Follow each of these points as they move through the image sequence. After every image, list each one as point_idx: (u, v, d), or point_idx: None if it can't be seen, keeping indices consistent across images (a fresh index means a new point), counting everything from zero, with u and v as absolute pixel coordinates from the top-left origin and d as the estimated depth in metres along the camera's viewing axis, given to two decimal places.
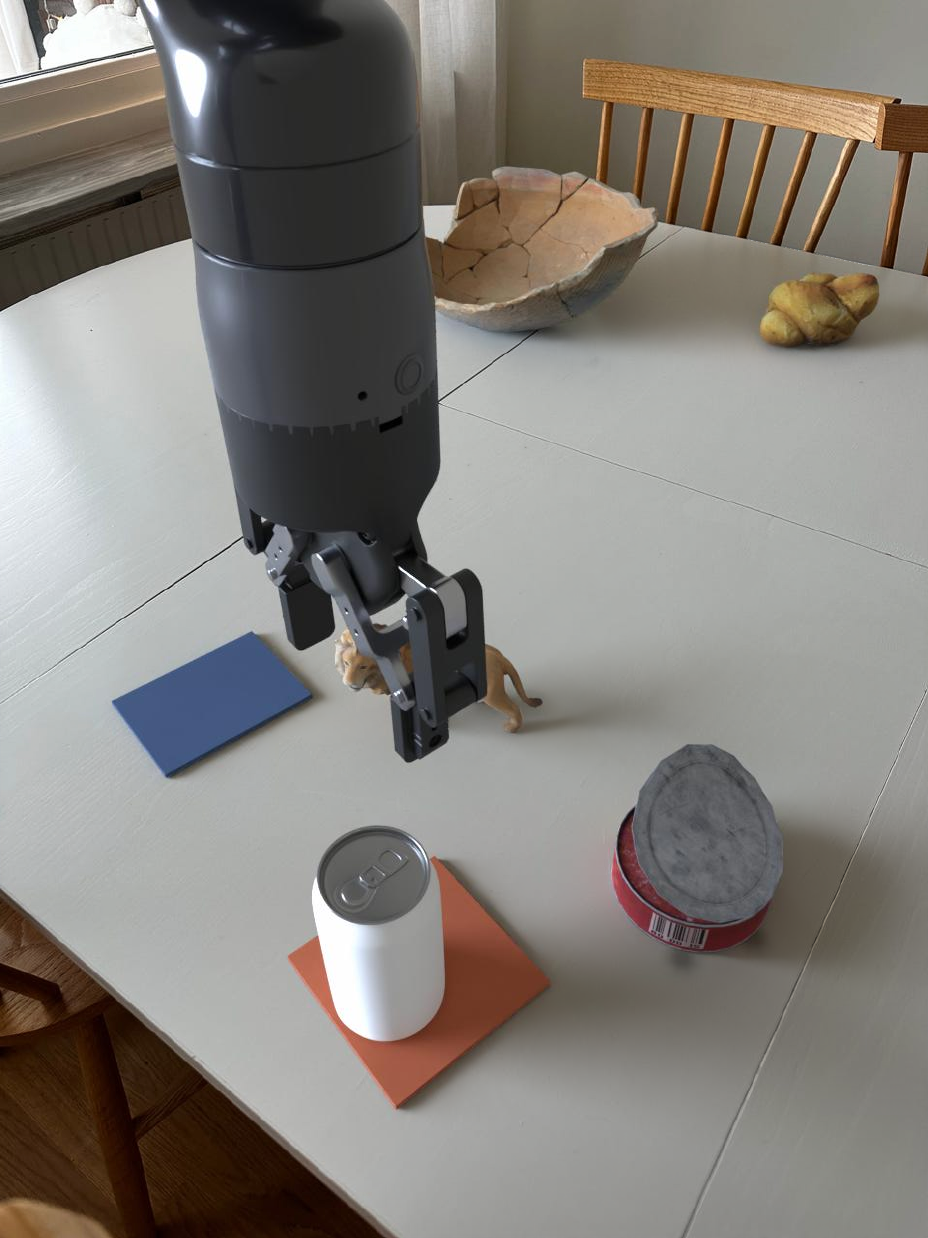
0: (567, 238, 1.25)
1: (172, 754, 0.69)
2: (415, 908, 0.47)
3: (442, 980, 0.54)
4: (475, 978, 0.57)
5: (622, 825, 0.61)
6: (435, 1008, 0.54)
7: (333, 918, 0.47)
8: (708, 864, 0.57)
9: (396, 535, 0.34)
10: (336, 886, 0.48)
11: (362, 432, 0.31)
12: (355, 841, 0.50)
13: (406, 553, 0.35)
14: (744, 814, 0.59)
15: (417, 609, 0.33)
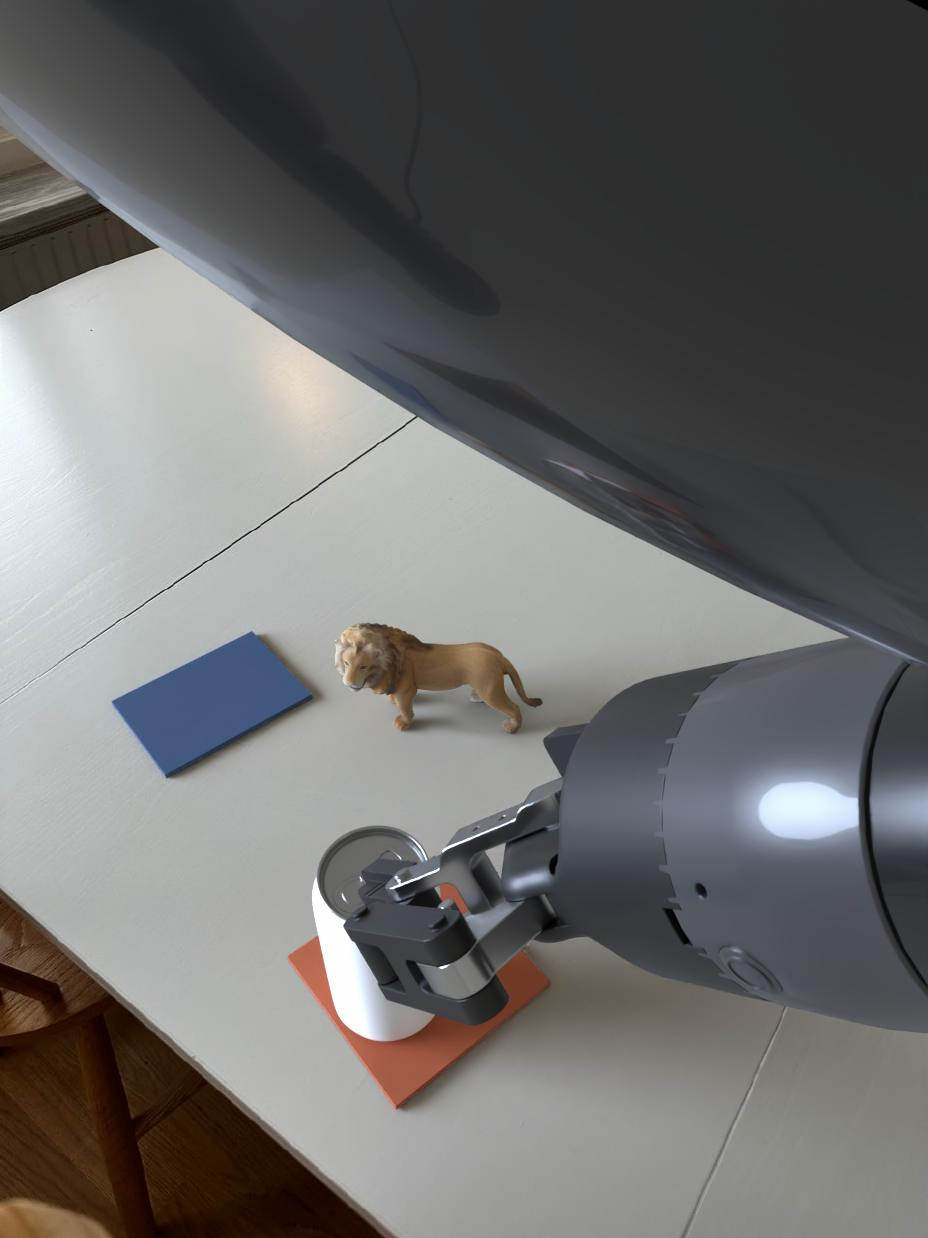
0: None
1: (172, 754, 0.69)
2: None
3: None
4: None
5: None
6: None
7: (333, 918, 0.47)
8: None
9: (561, 905, 0.24)
10: (336, 886, 0.48)
11: (659, 881, 0.20)
12: (355, 841, 0.50)
13: (547, 914, 0.25)
14: None
15: (439, 928, 0.23)
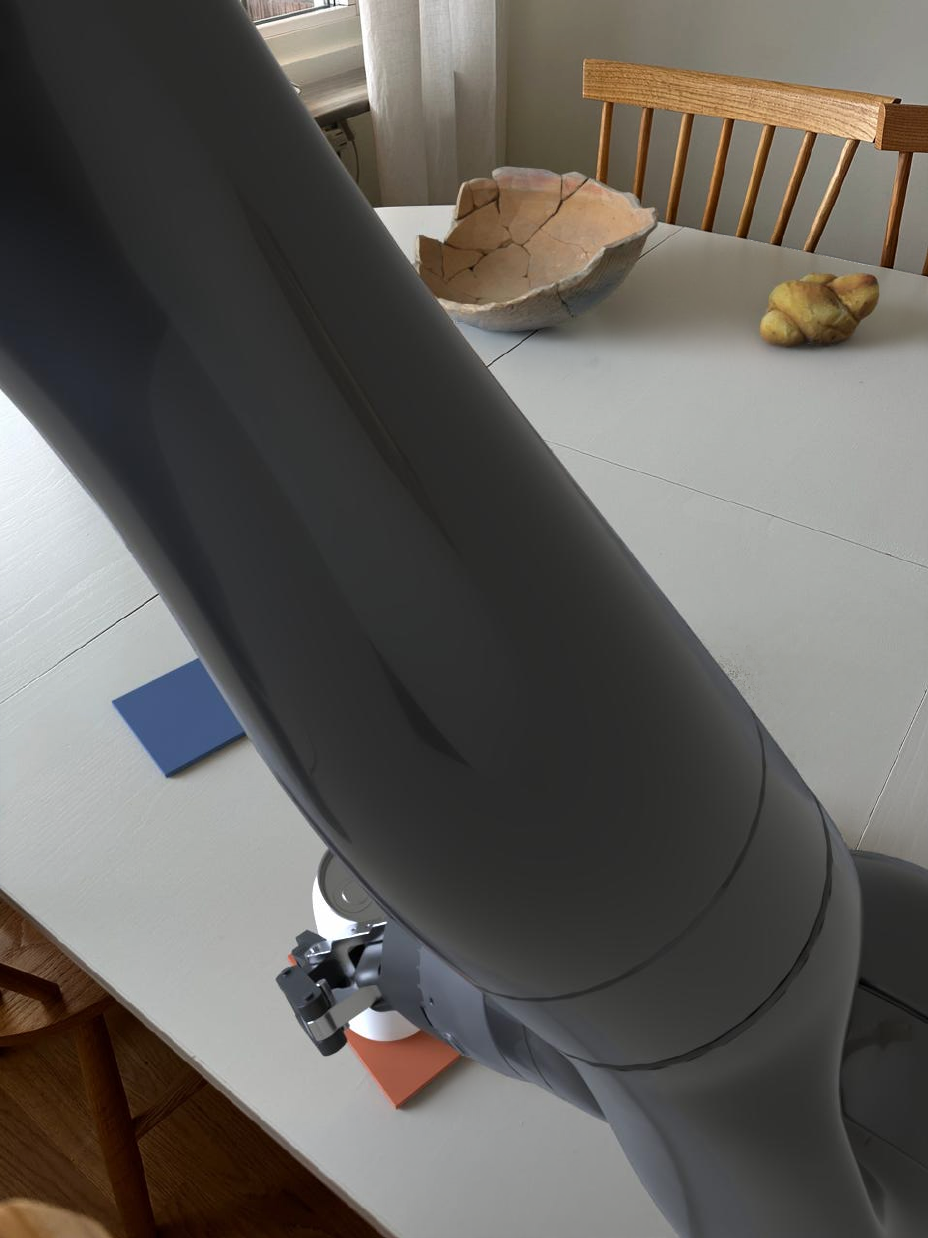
0: (567, 238, 1.25)
1: (172, 754, 0.69)
2: None
3: None
4: None
5: None
6: None
7: (333, 917, 0.47)
8: None
9: (383, 992, 0.41)
10: (337, 885, 0.48)
11: (417, 992, 0.37)
12: None
13: (378, 995, 0.42)
14: None
15: (307, 1001, 0.41)
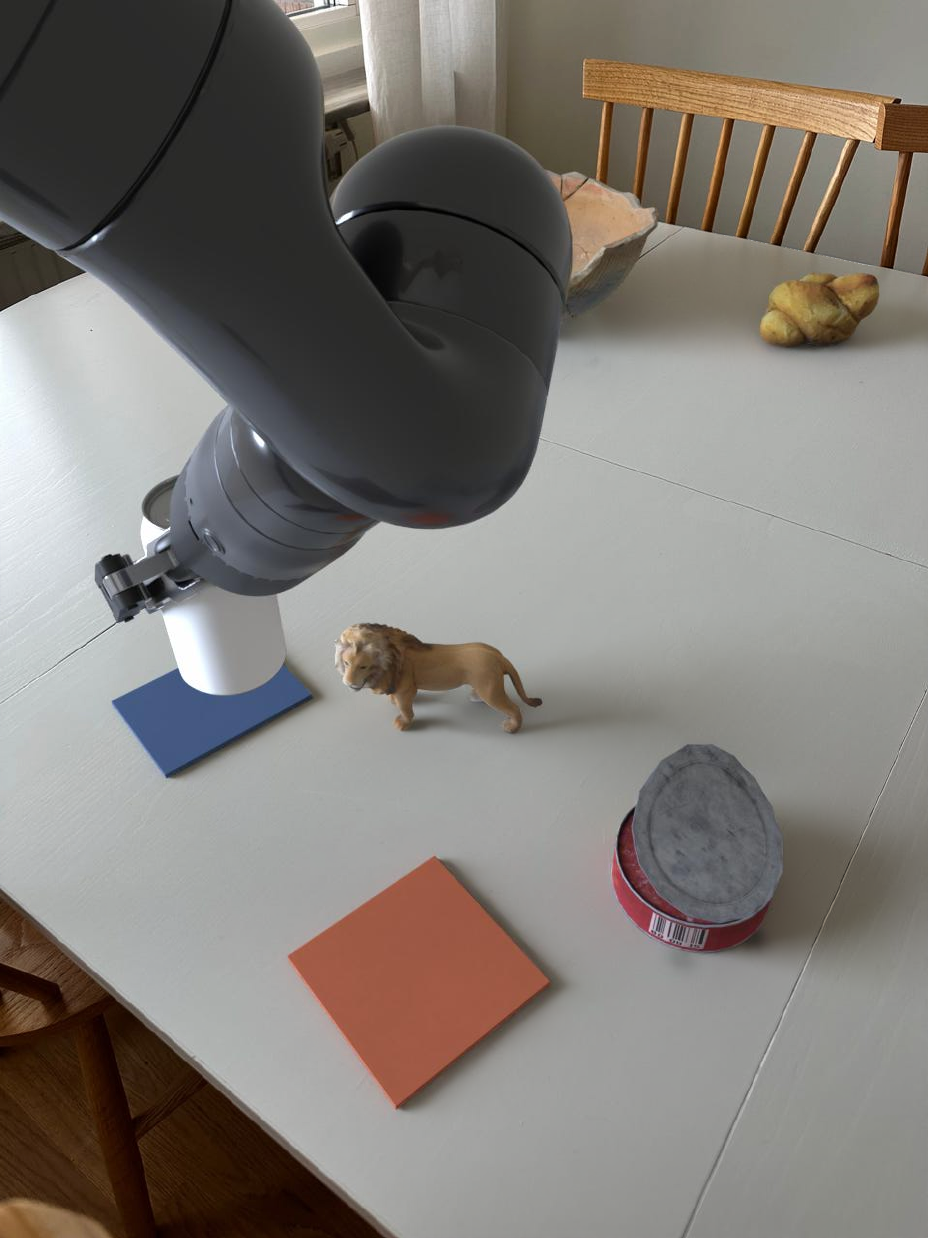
0: None
1: (172, 754, 0.69)
2: None
3: (277, 640, 0.57)
4: (475, 978, 0.57)
5: (622, 825, 0.61)
6: (271, 667, 0.57)
7: (154, 533, 0.50)
8: (708, 864, 0.57)
9: (174, 550, 0.44)
10: (160, 510, 0.51)
11: (185, 507, 0.41)
12: None
13: (174, 562, 0.45)
14: (744, 814, 0.59)
15: (105, 559, 0.45)
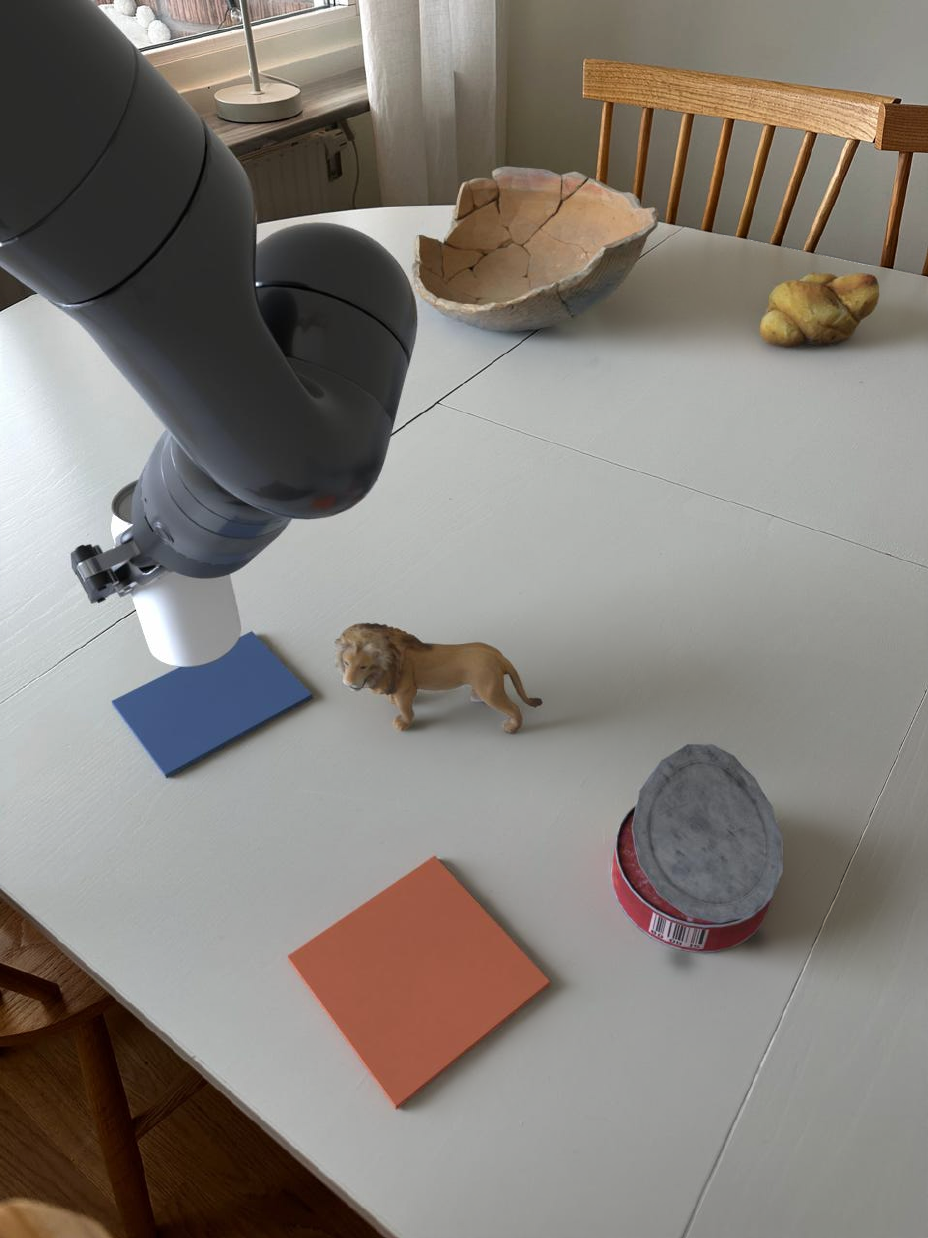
0: (567, 238, 1.25)
1: (172, 754, 0.69)
2: None
3: (232, 618, 0.67)
4: (475, 978, 0.57)
5: (622, 825, 0.61)
6: (227, 642, 0.67)
7: (122, 527, 0.60)
8: (708, 864, 0.57)
9: (136, 541, 0.54)
10: (127, 508, 0.61)
11: (141, 504, 0.50)
12: None
13: (136, 550, 0.55)
14: (744, 814, 0.59)
15: None
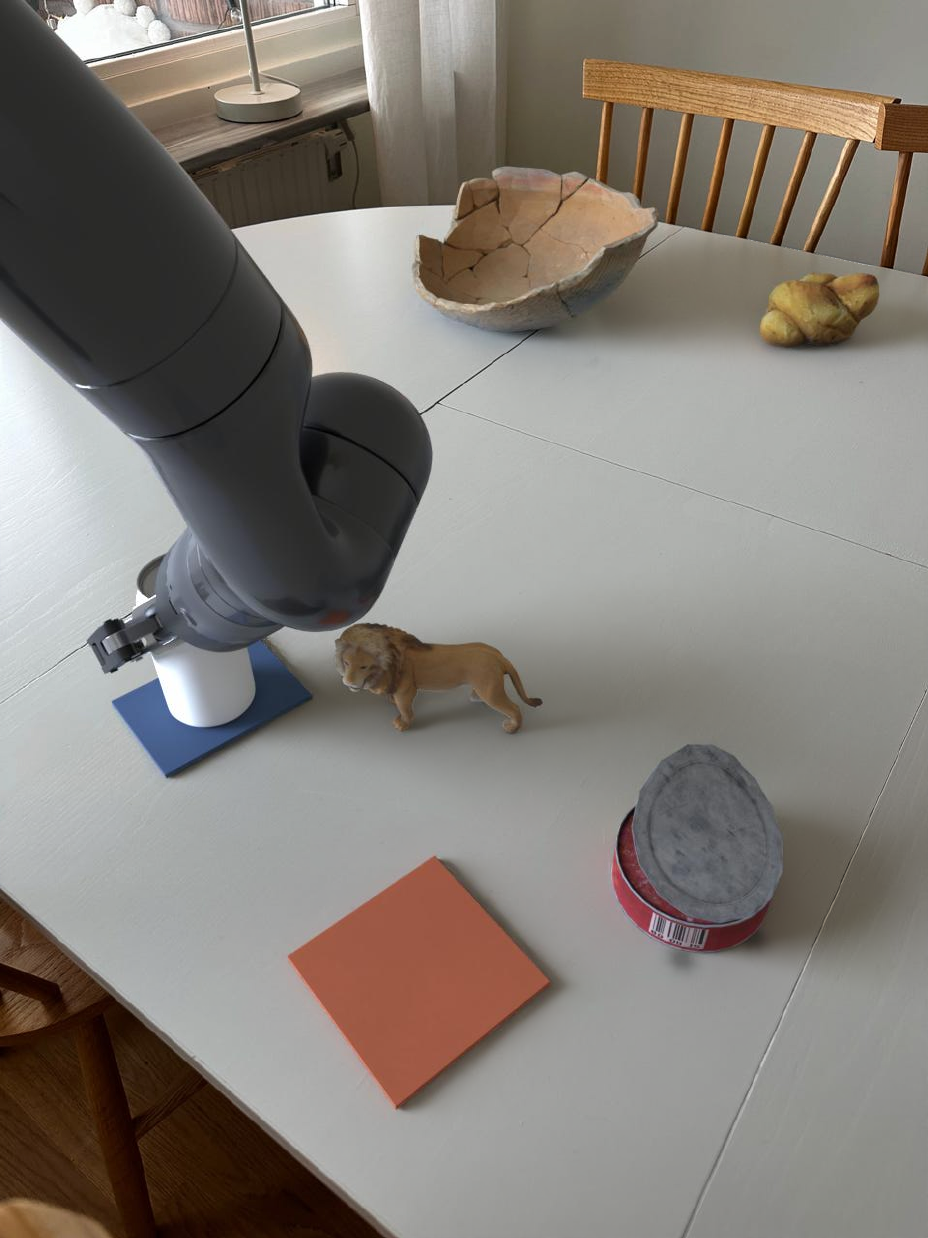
0: (567, 238, 1.25)
1: (172, 754, 0.69)
2: None
3: (247, 682, 0.71)
4: (475, 978, 0.57)
5: (622, 825, 0.61)
6: (243, 704, 0.71)
7: None
8: (708, 864, 0.57)
9: (159, 617, 0.58)
10: (151, 584, 0.65)
11: (166, 589, 0.54)
12: None
13: (159, 625, 0.58)
14: (744, 814, 0.59)
15: (107, 622, 0.57)
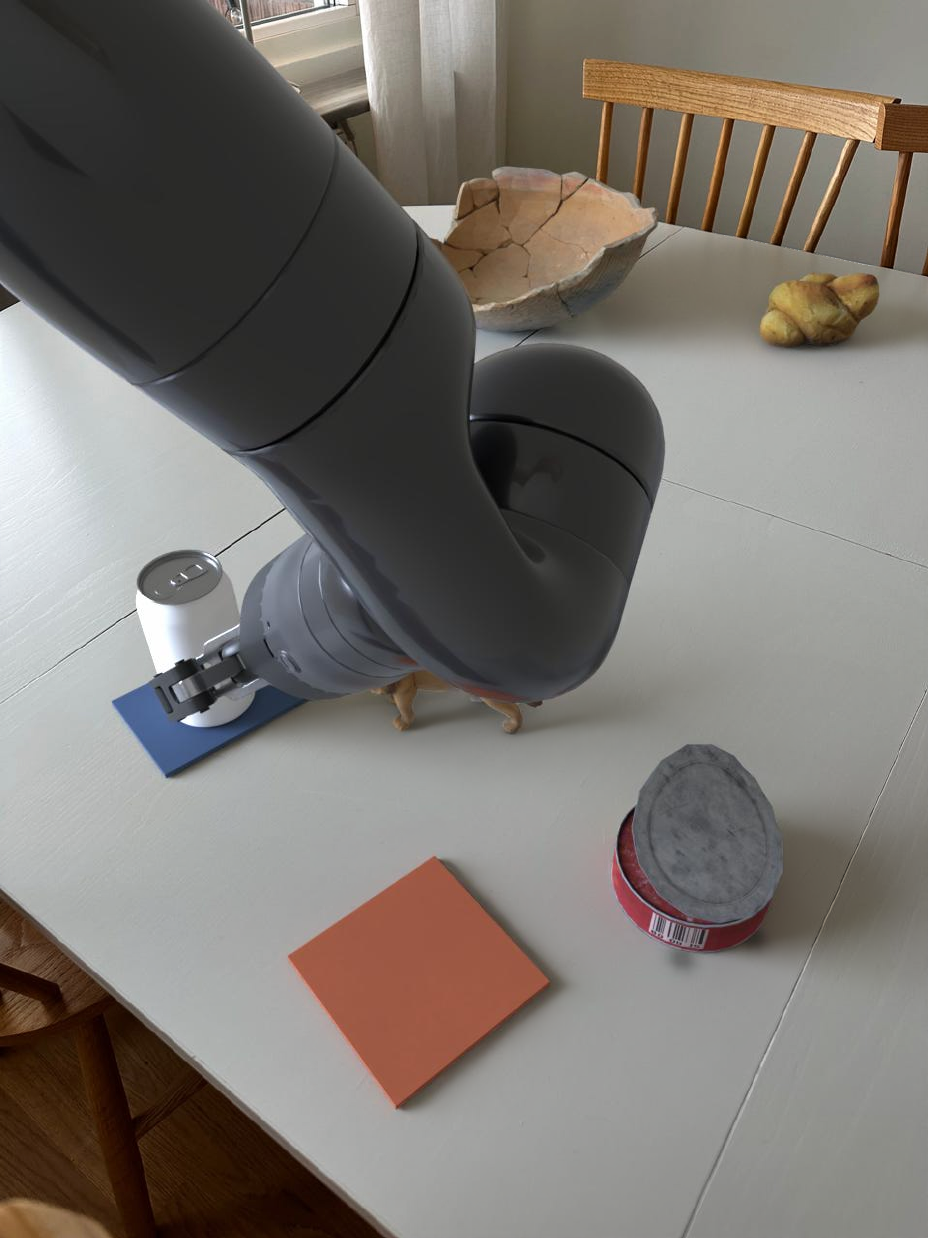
0: (567, 238, 1.25)
1: (172, 754, 0.69)
2: (207, 597, 0.64)
3: None
4: (475, 978, 0.57)
5: (622, 825, 0.61)
6: (243, 704, 0.71)
7: (146, 604, 0.64)
8: (708, 864, 0.57)
9: (243, 657, 0.47)
10: (151, 584, 0.65)
11: (260, 626, 0.43)
12: (171, 560, 0.67)
13: (241, 666, 0.48)
14: (744, 814, 0.59)
15: (179, 664, 0.46)
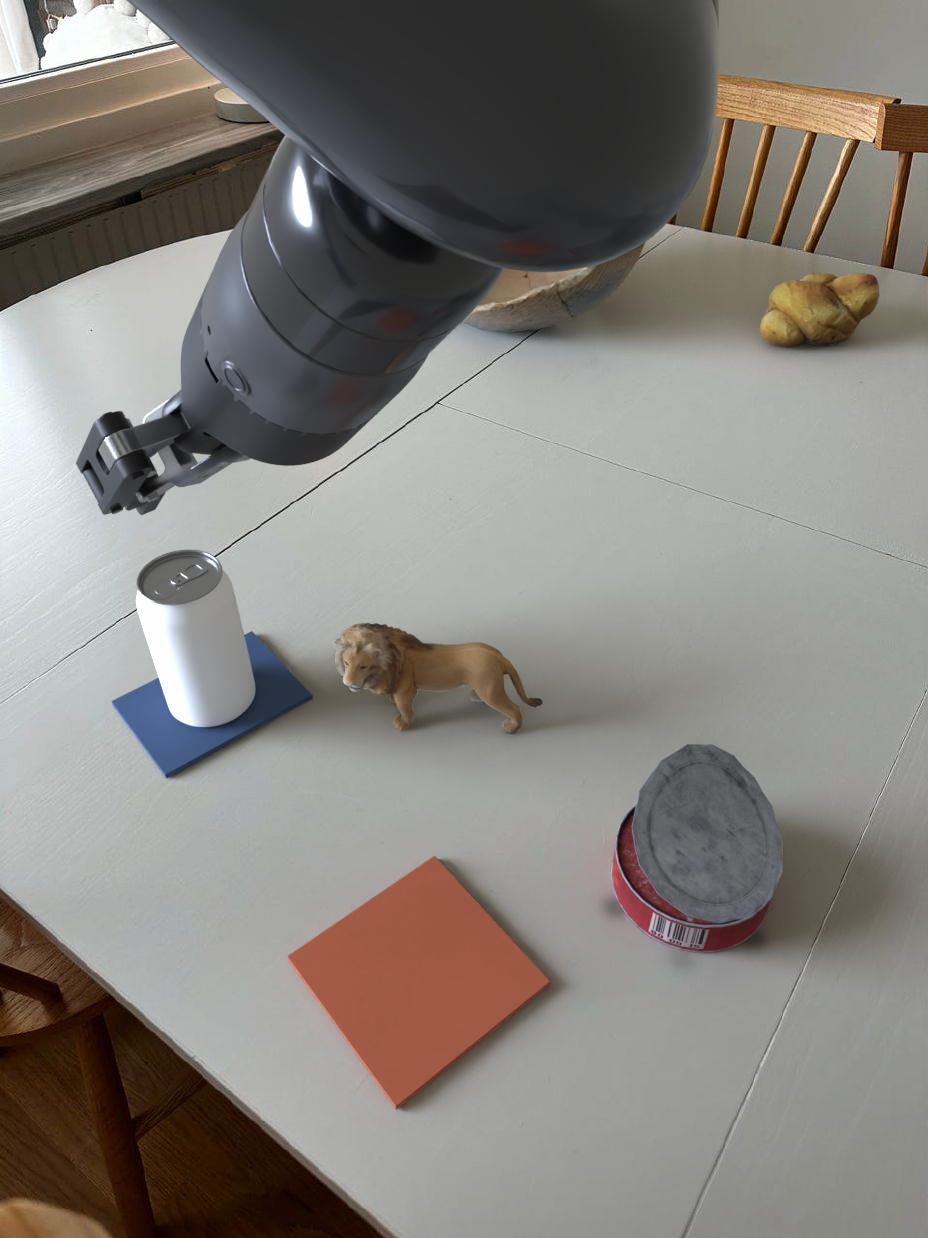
0: None
1: (172, 754, 0.69)
2: (207, 597, 0.64)
3: (247, 682, 0.71)
4: (475, 978, 0.57)
5: (622, 825, 0.61)
6: (243, 704, 0.71)
7: (146, 604, 0.64)
8: (708, 864, 0.57)
9: (186, 410, 0.38)
10: (151, 584, 0.65)
11: (201, 341, 0.34)
12: (171, 560, 0.67)
13: (185, 426, 0.38)
14: (744, 814, 0.59)
15: None
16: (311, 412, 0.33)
